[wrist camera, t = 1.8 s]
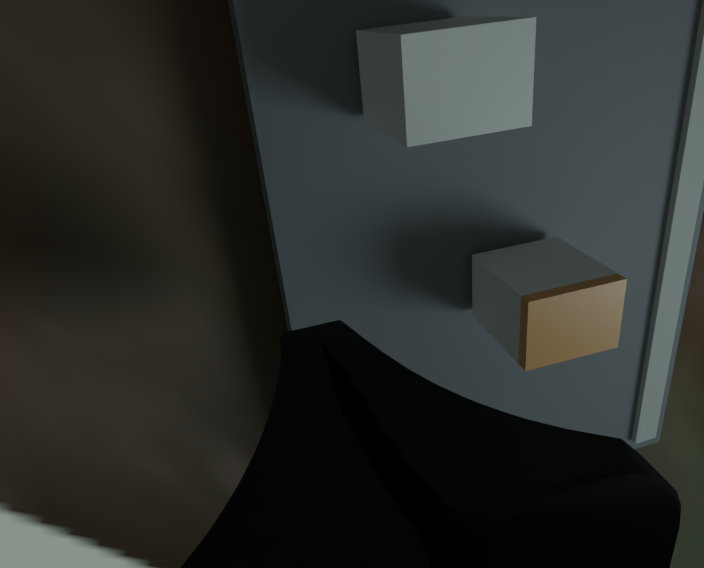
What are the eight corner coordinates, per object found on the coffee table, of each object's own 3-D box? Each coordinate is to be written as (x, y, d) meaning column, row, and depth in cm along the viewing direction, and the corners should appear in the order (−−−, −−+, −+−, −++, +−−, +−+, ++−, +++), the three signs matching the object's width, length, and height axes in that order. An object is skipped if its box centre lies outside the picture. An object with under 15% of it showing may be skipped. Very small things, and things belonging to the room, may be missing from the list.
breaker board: (629, 415, 21) (663, 445, 20) (318, 504, 19) (330, 546, 17) (708, -91, 14) (771, -104, 12) (219, -43, 12) (224, -51, 10)
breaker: (467, 104, 13) (531, 125, 10) (364, 121, 12) (406, 146, 10) (466, 16, 12) (536, 16, 9) (355, 29, 11) (400, 34, 9)
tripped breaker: (552, 296, 16) (618, 347, 13) (472, 315, 15) (525, 371, 13) (556, 236, 15) (627, 278, 12) (471, 254, 14) (528, 301, 12)
